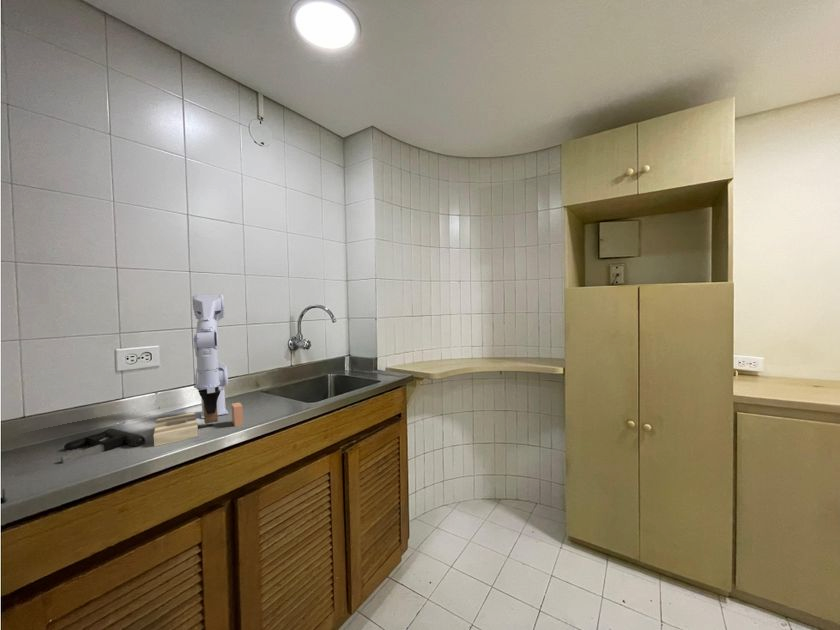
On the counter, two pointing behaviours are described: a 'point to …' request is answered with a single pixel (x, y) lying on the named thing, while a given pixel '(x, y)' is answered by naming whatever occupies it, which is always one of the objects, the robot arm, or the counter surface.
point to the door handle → (102, 443)
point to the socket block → (175, 429)
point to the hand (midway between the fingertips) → (210, 412)
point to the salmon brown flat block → (237, 414)
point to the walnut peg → (210, 416)
